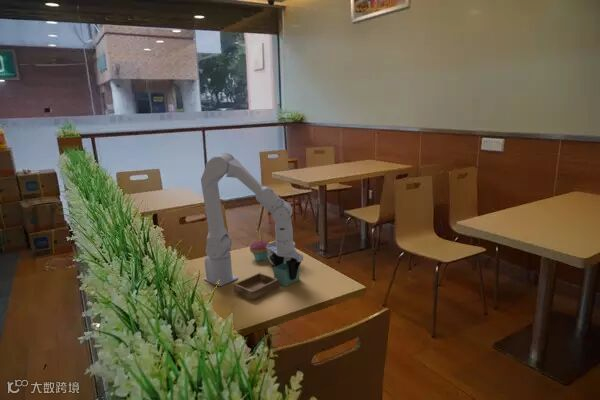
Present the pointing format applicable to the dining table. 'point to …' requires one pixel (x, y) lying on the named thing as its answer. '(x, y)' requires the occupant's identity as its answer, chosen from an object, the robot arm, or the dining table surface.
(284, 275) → the teal crate
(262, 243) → the cupcake
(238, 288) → the walnut crate
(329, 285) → the dining table surface
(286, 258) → the teacup
